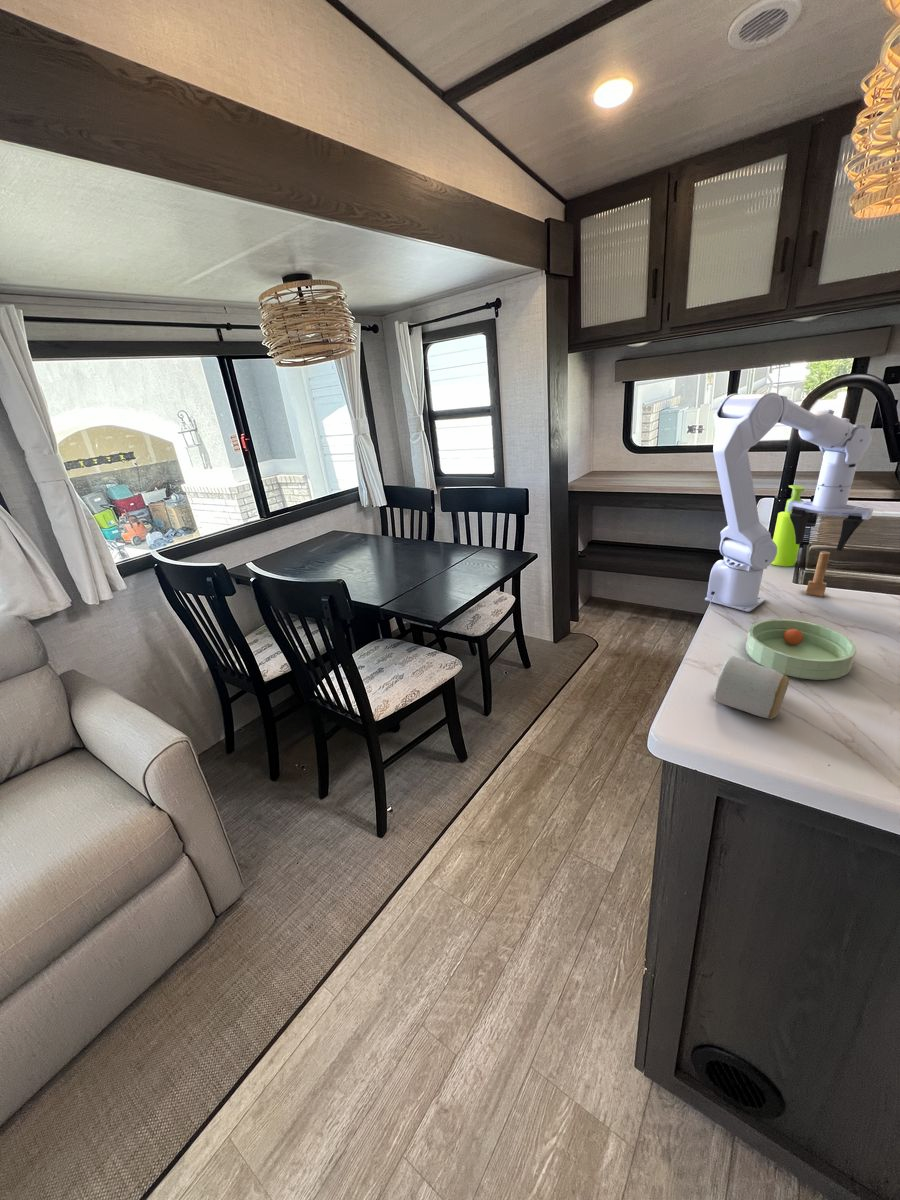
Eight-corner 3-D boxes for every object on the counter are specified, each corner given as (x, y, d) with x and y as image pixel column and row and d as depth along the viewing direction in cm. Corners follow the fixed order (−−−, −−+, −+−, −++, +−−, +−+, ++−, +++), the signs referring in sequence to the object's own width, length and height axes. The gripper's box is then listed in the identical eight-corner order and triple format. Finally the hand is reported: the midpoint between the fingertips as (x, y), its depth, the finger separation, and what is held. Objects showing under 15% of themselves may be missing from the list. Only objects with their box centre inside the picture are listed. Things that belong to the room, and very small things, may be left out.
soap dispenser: (790, 558, 126) (806, 483, 118) (798, 566, 120) (816, 488, 112) (764, 557, 128) (779, 483, 120) (771, 566, 122) (787, 489, 114)
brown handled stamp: (805, 594, 105) (815, 552, 101) (805, 592, 107) (816, 550, 103) (823, 597, 104) (834, 554, 99) (823, 594, 105) (834, 552, 101)
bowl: (730, 658, 85) (733, 638, 83) (765, 629, 93) (769, 611, 91) (831, 693, 73) (838, 672, 72) (862, 657, 81) (868, 637, 80)
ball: (779, 627, 87) (795, 627, 87) (778, 643, 87) (794, 642, 88) (792, 630, 84) (808, 630, 84) (791, 647, 84) (807, 646, 85)
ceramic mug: (772, 731, 67) (784, 686, 64) (710, 709, 72) (718, 667, 69) (787, 696, 74) (798, 654, 71) (730, 679, 79) (737, 639, 76)
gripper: (884, 484, 95) (865, 548, 100) (801, 478, 106) (788, 536, 111) (873, 490, 91) (855, 556, 97) (788, 484, 102) (776, 543, 107)
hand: (818, 546), depth 104 cm, fingers open, 7 cm apart
